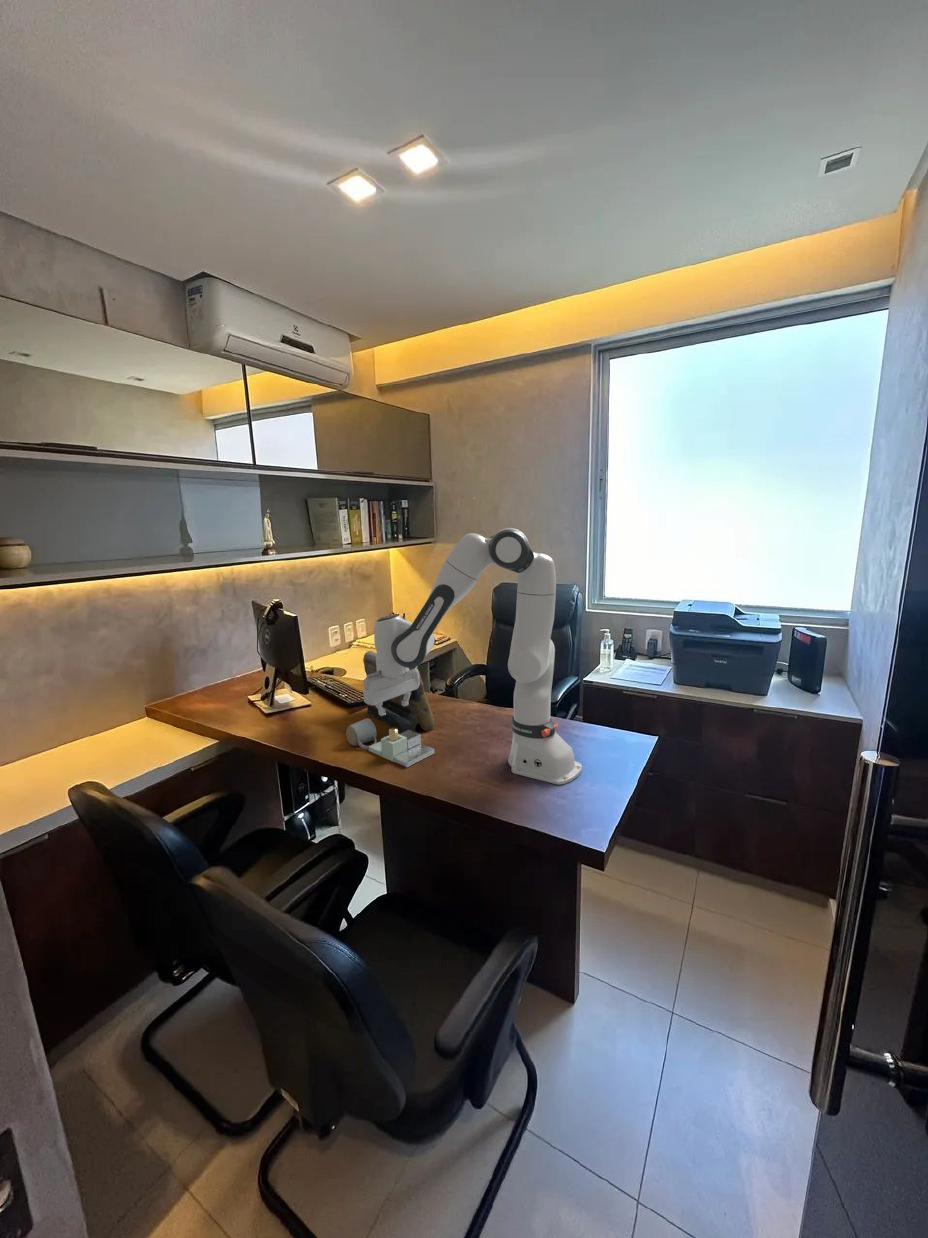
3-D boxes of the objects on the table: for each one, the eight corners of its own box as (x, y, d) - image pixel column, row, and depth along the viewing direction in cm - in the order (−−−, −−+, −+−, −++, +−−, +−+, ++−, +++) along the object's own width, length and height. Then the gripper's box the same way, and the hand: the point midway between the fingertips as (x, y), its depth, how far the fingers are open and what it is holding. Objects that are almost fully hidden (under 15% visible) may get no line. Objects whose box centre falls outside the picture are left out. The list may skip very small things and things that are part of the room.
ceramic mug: (345, 743, 166) (343, 722, 164) (365, 735, 171) (364, 715, 170) (361, 753, 158) (360, 731, 157) (383, 745, 164) (382, 724, 162)
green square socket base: (421, 748, 161) (420, 731, 160) (393, 762, 152) (392, 744, 151) (396, 738, 168) (395, 722, 167) (368, 750, 160) (367, 733, 158)
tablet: (441, 726, 178) (440, 660, 173) (412, 739, 168) (410, 669, 163) (387, 705, 200) (384, 645, 196) (358, 714, 191) (355, 652, 186)
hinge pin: (400, 755, 156) (399, 729, 154) (394, 758, 154) (392, 732, 152) (394, 753, 158) (393, 726, 156) (388, 756, 156) (387, 729, 154)
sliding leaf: (434, 753, 157) (434, 739, 156) (406, 767, 148) (406, 752, 147) (409, 743, 164) (408, 729, 163) (381, 756, 155) (380, 742, 154)
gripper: (370, 677, 141) (374, 723, 143) (421, 661, 156) (424, 702, 158) (357, 674, 145) (361, 718, 147) (408, 658, 160) (410, 699, 162)
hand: (394, 710), depth 153 cm, fingers open, 8 cm apart
